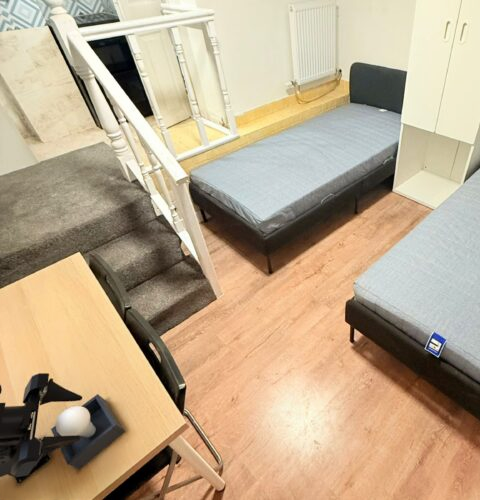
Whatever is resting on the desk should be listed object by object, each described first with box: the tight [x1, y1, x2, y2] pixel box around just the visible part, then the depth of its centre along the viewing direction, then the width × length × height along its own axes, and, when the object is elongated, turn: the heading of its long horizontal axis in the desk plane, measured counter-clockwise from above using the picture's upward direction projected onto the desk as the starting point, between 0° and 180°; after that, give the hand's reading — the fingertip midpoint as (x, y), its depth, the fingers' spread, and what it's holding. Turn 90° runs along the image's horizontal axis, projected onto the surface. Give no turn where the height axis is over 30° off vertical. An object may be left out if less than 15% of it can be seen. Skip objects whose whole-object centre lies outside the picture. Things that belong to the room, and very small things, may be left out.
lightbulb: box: [55, 405, 96, 438], centre depth 75 cm, size 6×6×11 cm
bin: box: [50, 393, 126, 471], centre depth 78 cm, size 11×11×5 cm
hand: (80, 417), depth 74 cm, fingers open, 9 cm apart
